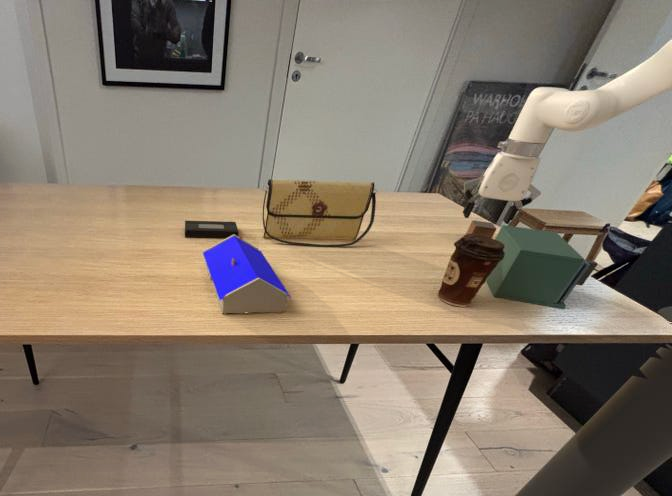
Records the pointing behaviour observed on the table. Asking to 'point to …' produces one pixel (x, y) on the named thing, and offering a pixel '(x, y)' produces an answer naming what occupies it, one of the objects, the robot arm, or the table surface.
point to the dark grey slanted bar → (579, 277)
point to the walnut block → (481, 228)
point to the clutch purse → (317, 210)
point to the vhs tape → (210, 229)
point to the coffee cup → (469, 268)
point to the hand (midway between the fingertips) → (485, 219)
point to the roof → (244, 278)
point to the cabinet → (534, 266)
